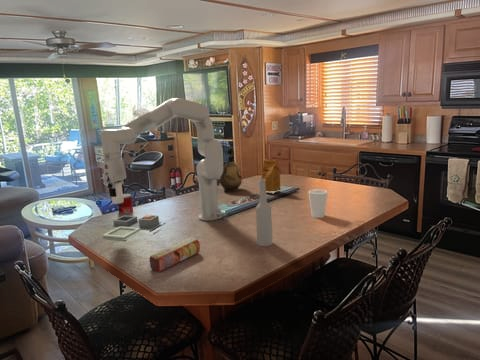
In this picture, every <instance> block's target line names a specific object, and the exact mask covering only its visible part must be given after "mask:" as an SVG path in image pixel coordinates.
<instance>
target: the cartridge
mask: <svg viewBox="0 0 480 360" xmlns="http://www.w3.org/2000/svg"><path fill="white" fill-rule="evenodd" d="M110 182H112V181H110ZM111 185H112V183H111ZM114 188H115V189H116V197H111V201H112V204H114V205H118V204H119V203H123V202H124V199H123V191H122V183H121V181H117V182H115V184H114Z"/></svg>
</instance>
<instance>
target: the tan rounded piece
mask: <svg viewBox="0 0 480 360" xmlns="http://www.w3.org/2000/svg"><path fill="white" fill-rule="evenodd" d="M152 215H153V214H146V215H144V216H143V217H144V218H145V219H152V218H153V216H152Z"/></svg>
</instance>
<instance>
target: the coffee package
mask: <svg viewBox="0 0 480 360" xmlns="http://www.w3.org/2000/svg"><path fill="white" fill-rule="evenodd" d="M260 173H261V178H260V179H265V180H266V181H265V186H266V191H277V190H280V191H281V169H280V168H279V165H278V160H276V159H275V160H269V159H266V158H264V160H263V164H262V169H261V172H260Z"/></svg>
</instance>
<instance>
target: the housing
mask: <svg viewBox="0 0 480 360" xmlns="http://www.w3.org/2000/svg"><path fill="white" fill-rule="evenodd" d="M151 215H152V216H153V218H152V219H145V218H144V216H141V217H140V218H138V216H134V215H122V216H120V217H117V218H115V219H113V220H112V221H113V222H112V223H113V225H112V227H120V226H122V227H133V228H140V229H147V230H150V231H149V233H152V232H153V231H155V230H156V229H158V228H159V227H161V226H162V225H163V224H162V222H161V221H160V219H159V217H160V216H159V215H153V214H151Z"/></svg>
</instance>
